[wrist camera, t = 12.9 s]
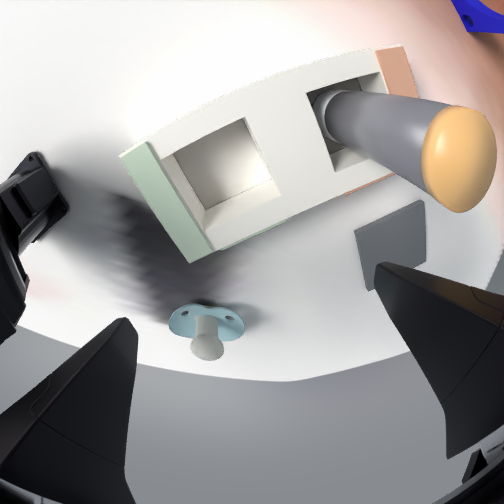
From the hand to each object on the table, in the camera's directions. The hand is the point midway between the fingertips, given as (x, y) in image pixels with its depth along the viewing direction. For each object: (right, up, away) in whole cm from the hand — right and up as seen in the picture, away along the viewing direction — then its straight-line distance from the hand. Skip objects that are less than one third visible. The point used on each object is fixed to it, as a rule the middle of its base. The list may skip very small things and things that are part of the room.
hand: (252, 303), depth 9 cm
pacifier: (-5, -5, +19) cm, 20 cm away
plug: (+6, +12, +9) cm, 16 cm away
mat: (+15, +2, +16) cm, 22 cm away
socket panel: (+2, +10, +9) cm, 14 cm away
